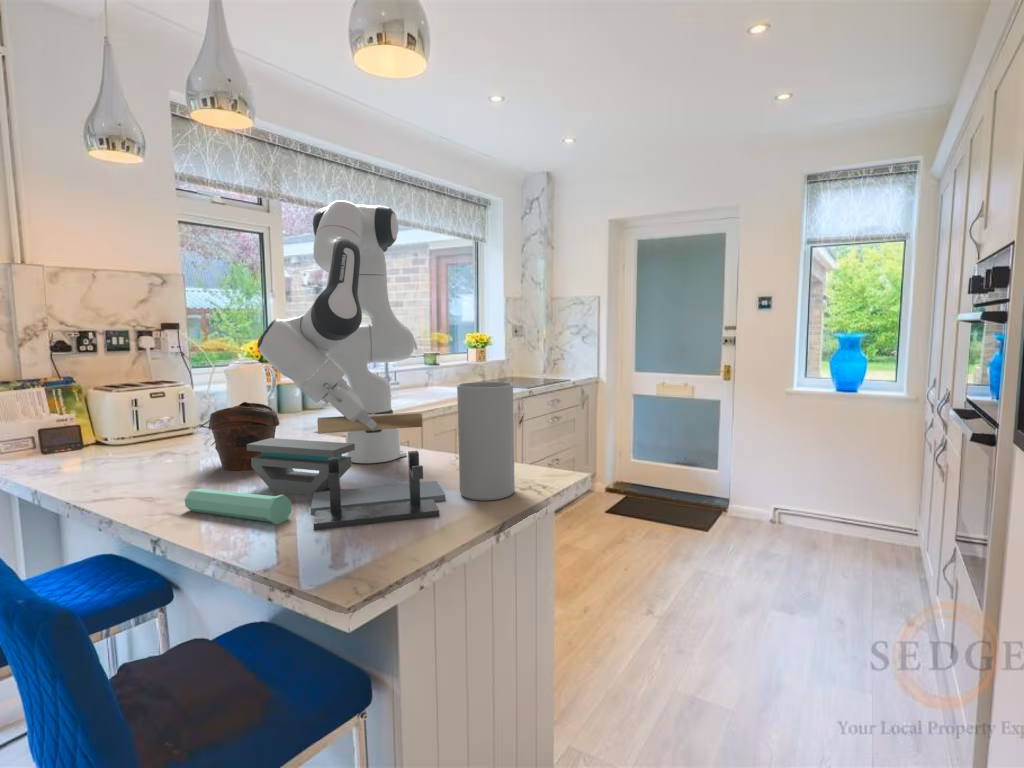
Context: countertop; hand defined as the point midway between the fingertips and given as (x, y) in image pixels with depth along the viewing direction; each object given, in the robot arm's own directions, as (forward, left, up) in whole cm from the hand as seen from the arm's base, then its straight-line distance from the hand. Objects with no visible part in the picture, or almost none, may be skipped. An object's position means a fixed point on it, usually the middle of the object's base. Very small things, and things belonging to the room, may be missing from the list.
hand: (374, 425), depth 124 cm
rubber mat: (0, 0, -17) cm, 17 cm away
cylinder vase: (+4, +24, -17) cm, 30 cm away
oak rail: (0, -1, -1) cm, 1 cm away
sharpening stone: (-15, -17, -17) cm, 28 cm away
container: (+1, -29, -17) cm, 33 cm away
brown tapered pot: (-46, -34, -17) cm, 60 cm away
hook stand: (+12, -1, -17) cm, 21 cm away
